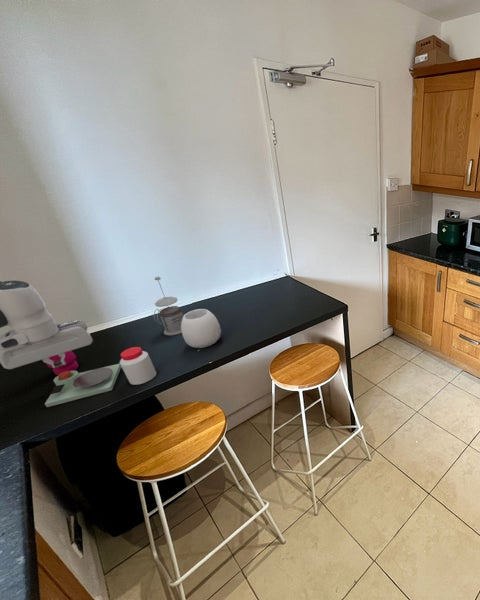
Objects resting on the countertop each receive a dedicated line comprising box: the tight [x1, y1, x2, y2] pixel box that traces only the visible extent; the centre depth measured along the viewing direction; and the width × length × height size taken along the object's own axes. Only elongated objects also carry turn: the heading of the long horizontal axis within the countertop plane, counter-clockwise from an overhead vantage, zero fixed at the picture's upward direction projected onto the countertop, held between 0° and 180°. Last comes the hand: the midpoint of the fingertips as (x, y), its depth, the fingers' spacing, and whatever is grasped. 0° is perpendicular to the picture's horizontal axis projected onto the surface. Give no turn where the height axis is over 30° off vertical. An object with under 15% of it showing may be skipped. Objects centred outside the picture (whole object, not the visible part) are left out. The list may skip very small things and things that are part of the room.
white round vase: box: [181, 308, 222, 349], centre depth 125 cm, size 13×13×14 cm
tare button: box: [57, 371, 72, 380], centre depth 105 cm, size 3×3×2 cm
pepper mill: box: [45, 350, 80, 376], centre depth 109 cm, size 7×7×20 cm
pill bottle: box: [119, 346, 157, 386], centre depth 107 cm, size 8×8×11 cm
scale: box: [44, 363, 122, 408], centre depth 105 cm, size 16×14×3 cm
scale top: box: [49, 367, 113, 396], centre depth 104 cm, size 15×10×1 cm
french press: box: [153, 276, 184, 336], centre depth 131 cm, size 10×12×25 cm
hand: (59, 365), depth 103 cm, fingers closed
